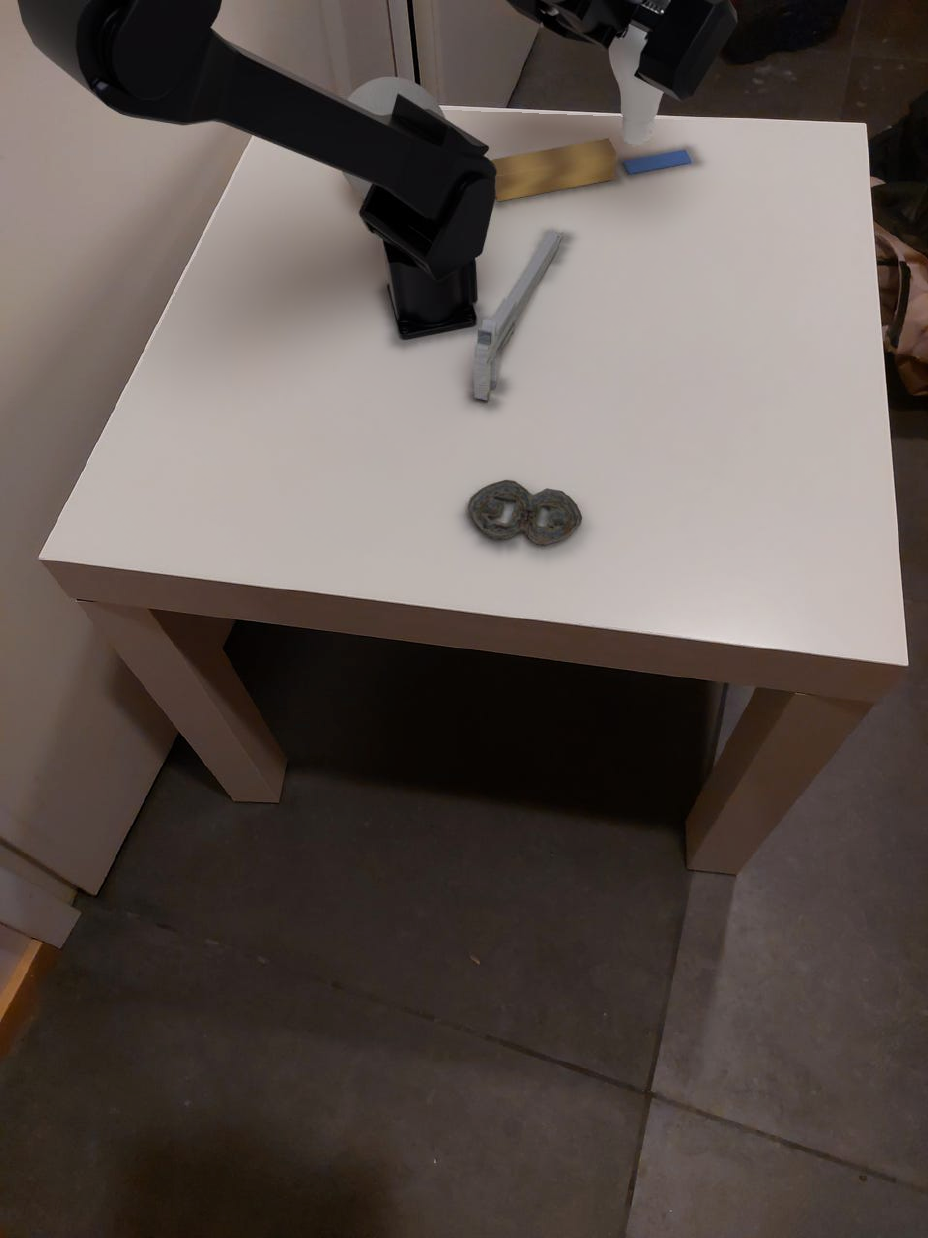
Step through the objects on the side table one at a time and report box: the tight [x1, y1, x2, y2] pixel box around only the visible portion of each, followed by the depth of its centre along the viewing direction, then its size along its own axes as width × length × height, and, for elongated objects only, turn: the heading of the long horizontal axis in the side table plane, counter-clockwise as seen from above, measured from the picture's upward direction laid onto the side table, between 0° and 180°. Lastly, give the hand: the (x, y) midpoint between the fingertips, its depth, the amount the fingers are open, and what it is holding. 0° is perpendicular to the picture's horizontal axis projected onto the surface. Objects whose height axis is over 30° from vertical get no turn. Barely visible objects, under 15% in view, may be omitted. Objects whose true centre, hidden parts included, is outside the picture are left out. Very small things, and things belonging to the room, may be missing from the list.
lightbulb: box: [608, 5, 665, 147], centre depth 70 cm, size 6×6×11 cm
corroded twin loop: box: [467, 479, 583, 546], centre depth 59 cm, size 5×8×1 cm, turn 76°
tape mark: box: [622, 148, 692, 175], centre depth 78 cm, size 6×2×1 cm, turn 102°
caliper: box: [472, 230, 564, 401], centre depth 67 cm, size 20×1×6 cm, turn 160°
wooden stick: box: [490, 137, 618, 202], centre depth 77 cm, size 11×2×2 cm, turn 102°
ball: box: [341, 76, 446, 200], centre depth 74 cm, size 10×10×10 cm
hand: (656, 58), depth 69 cm, fingers closed on lightbulb, 6 cm apart
